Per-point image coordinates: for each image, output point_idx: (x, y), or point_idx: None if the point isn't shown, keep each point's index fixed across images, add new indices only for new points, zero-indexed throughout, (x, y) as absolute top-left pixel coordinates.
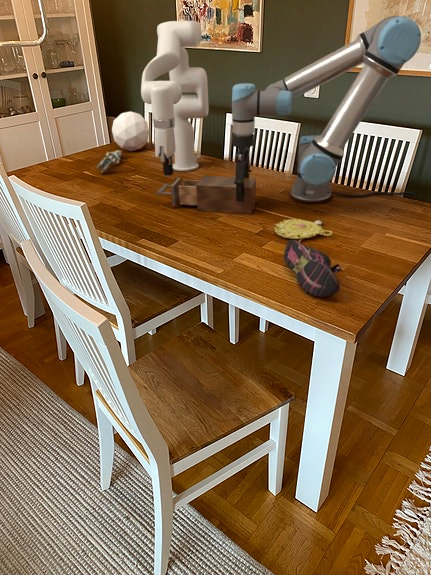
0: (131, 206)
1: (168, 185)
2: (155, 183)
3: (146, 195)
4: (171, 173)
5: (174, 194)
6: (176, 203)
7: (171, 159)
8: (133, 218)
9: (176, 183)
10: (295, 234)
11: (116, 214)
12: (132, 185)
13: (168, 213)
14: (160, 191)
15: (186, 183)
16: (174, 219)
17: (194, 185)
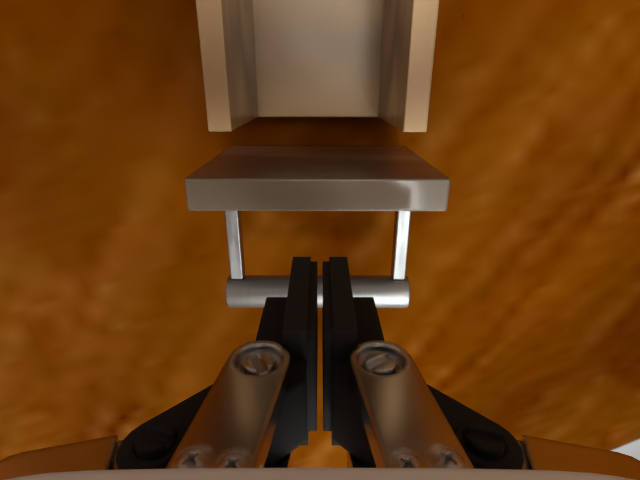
0: None
1: (232, 272)
2: (19, 386)
3: (218, 374)
4: (347, 269)
5: (426, 162)
6: (380, 147)
7: (277, 392)
8: (551, 334)
9: (357, 177)
10: None
11: (496, 421)
12: None
13: (481, 167)
14: (394, 288)
15: (235, 98)
16: (583, 96)
17: (232, 1)
